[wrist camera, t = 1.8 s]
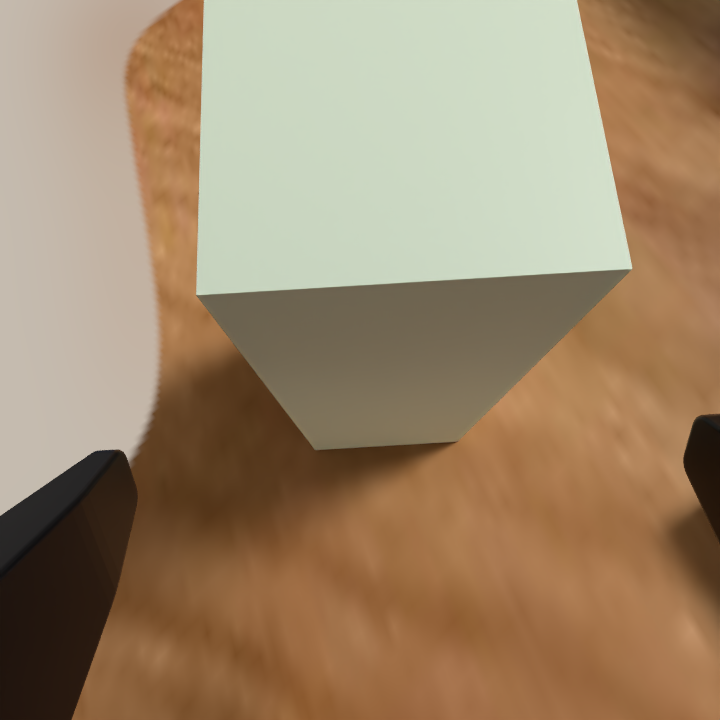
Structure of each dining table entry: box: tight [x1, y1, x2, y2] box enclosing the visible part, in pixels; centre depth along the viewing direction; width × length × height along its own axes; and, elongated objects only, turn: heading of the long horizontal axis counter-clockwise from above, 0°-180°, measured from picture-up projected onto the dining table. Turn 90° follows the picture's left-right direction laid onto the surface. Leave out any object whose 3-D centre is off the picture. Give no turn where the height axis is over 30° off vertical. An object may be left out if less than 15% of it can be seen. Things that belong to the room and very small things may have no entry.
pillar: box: [196, 0, 632, 450], centre depth 14 cm, size 5×5×14 cm
